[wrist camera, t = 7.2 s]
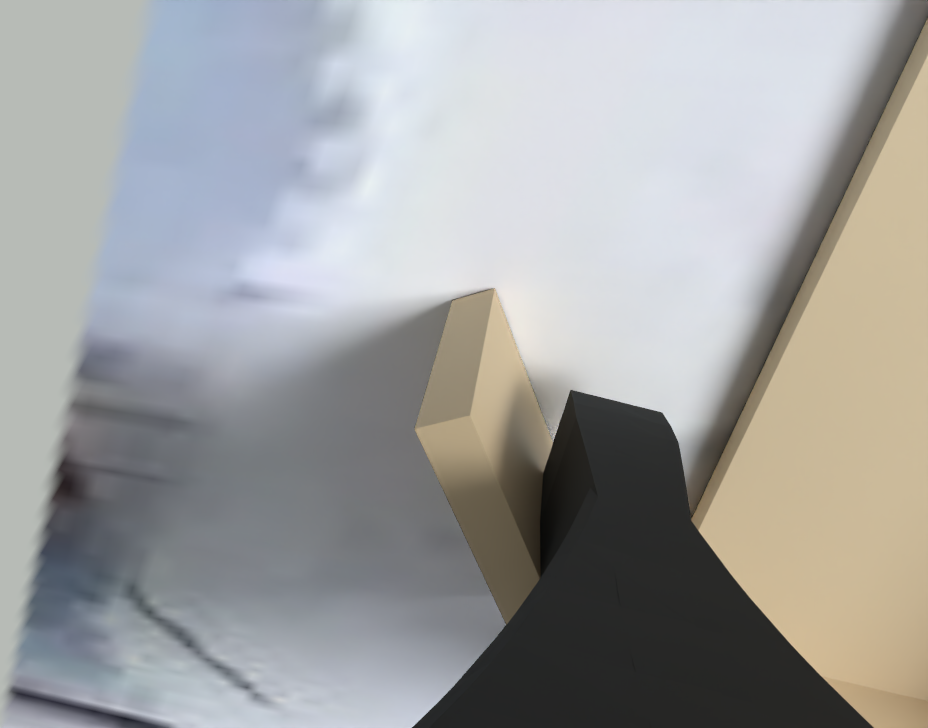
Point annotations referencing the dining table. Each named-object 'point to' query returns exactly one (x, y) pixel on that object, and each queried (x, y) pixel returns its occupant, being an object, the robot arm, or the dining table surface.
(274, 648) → the dining table surface
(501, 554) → the flap
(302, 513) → the dining table surface
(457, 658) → the dining table surface
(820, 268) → the open cardboard tray
